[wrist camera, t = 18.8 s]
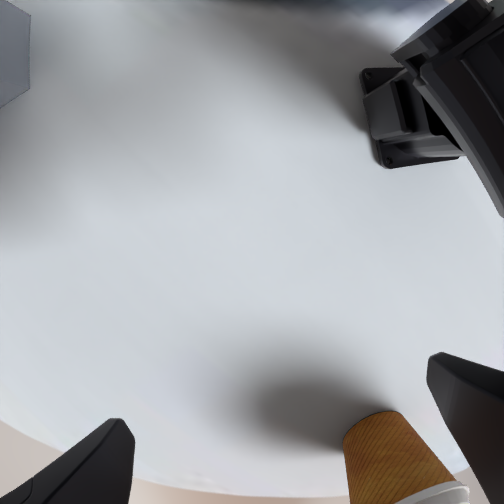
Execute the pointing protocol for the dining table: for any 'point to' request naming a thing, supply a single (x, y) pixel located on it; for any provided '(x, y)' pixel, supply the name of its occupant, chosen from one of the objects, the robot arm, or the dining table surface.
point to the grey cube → (13, 52)
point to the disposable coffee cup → (396, 465)
